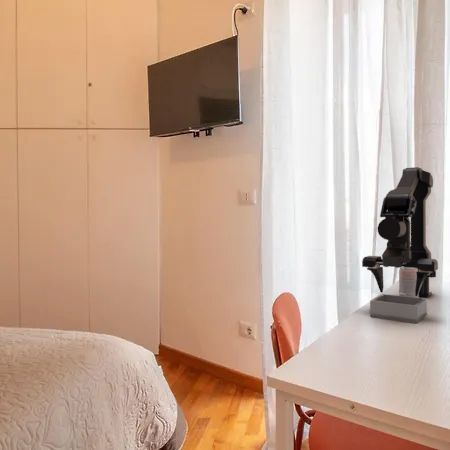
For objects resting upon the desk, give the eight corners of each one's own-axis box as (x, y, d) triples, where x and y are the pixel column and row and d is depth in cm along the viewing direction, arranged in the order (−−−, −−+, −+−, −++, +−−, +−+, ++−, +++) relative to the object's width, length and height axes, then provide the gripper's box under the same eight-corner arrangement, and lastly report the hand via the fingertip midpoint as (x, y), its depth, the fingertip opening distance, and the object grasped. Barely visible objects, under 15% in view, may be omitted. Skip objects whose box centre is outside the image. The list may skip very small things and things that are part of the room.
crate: (382, 308, 122) (382, 293, 121) (426, 314, 114) (426, 298, 114) (370, 316, 112) (370, 300, 112) (417, 323, 105) (417, 306, 105)
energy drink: (415, 305, 125) (414, 266, 125) (421, 309, 120) (421, 269, 120) (396, 305, 126) (396, 266, 125) (402, 309, 120) (402, 269, 120)
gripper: (355, 238, 112) (355, 295, 112) (430, 240, 101) (430, 303, 101) (368, 236, 121) (368, 289, 121) (438, 238, 110) (438, 296, 110)
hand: (398, 294), depth 113 cm, fingers open, 9 cm apart
